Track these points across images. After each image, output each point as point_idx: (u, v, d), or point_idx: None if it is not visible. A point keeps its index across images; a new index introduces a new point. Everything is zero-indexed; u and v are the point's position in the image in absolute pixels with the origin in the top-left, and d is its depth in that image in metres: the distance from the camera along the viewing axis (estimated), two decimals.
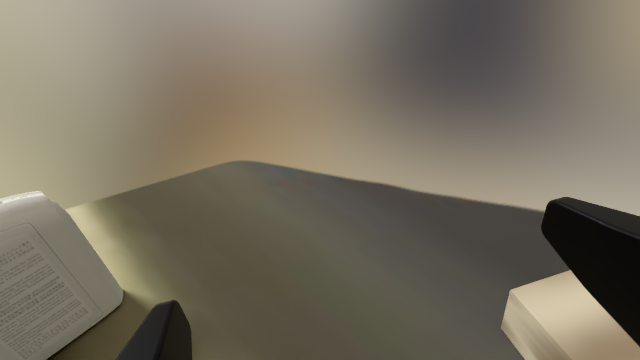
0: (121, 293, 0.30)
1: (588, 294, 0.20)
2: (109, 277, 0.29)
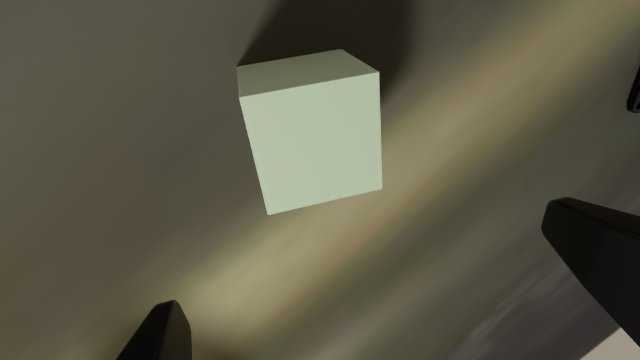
0: None
1: None
2: None
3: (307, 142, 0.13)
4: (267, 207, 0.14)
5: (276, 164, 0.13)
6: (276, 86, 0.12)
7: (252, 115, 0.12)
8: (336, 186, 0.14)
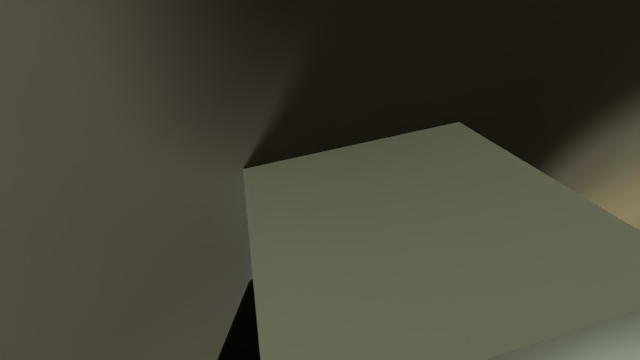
0: None
1: None
2: None
3: None
4: None
5: None
6: (388, 338, 0.04)
7: None
8: None
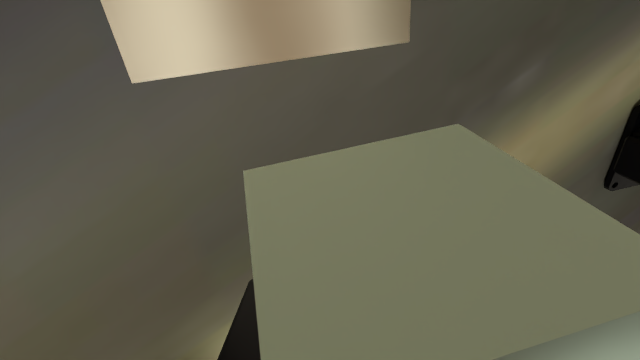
0: None
1: None
2: None
3: None
4: None
5: None
6: (388, 341, 0.04)
7: None
8: None
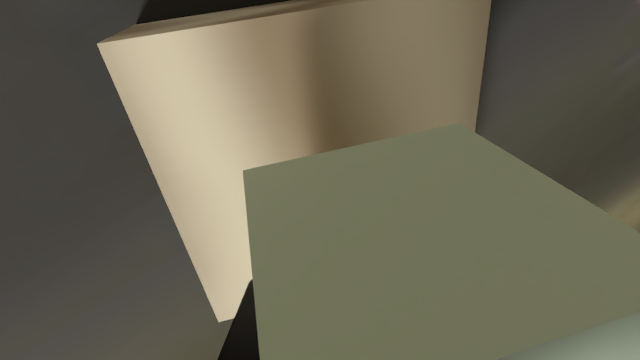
0: None
1: (240, 236, 0.11)
2: None
3: None
4: None
5: None
6: (388, 340, 0.04)
7: None
8: None
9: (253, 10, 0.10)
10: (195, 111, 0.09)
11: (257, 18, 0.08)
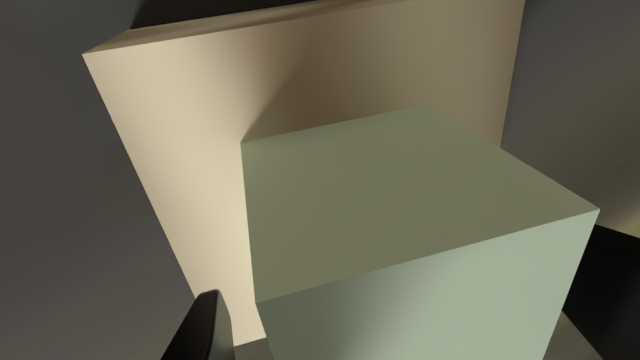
0: None
1: (243, 261, 0.10)
2: None
3: (407, 355, 0.06)
4: None
5: None
6: (347, 250, 0.05)
7: (288, 331, 0.05)
8: None
9: (258, 14, 0.09)
10: (194, 128, 0.08)
11: (264, 24, 0.07)
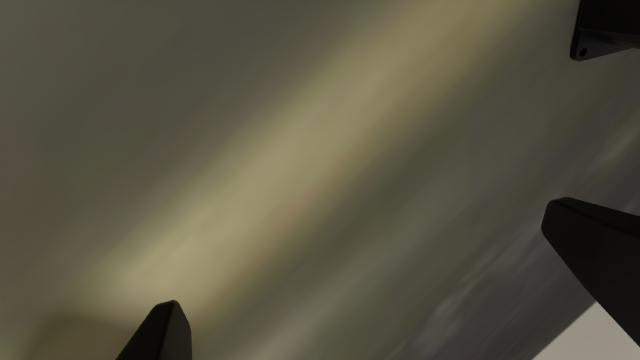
0: None
1: None
2: None
3: None
4: None
5: None
6: None
7: None
8: None
9: None
10: None
11: None
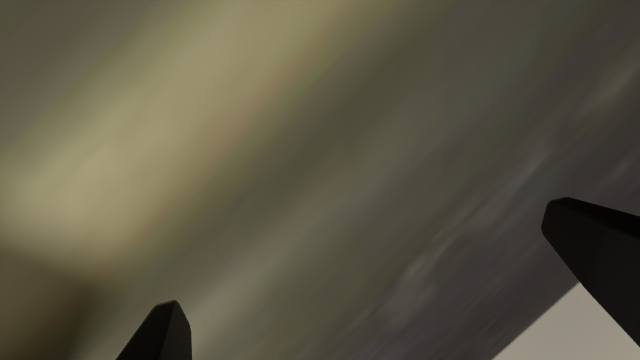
0: None
1: None
2: None
3: None
4: None
5: None
6: None
7: None
8: None
9: None
10: None
11: None
